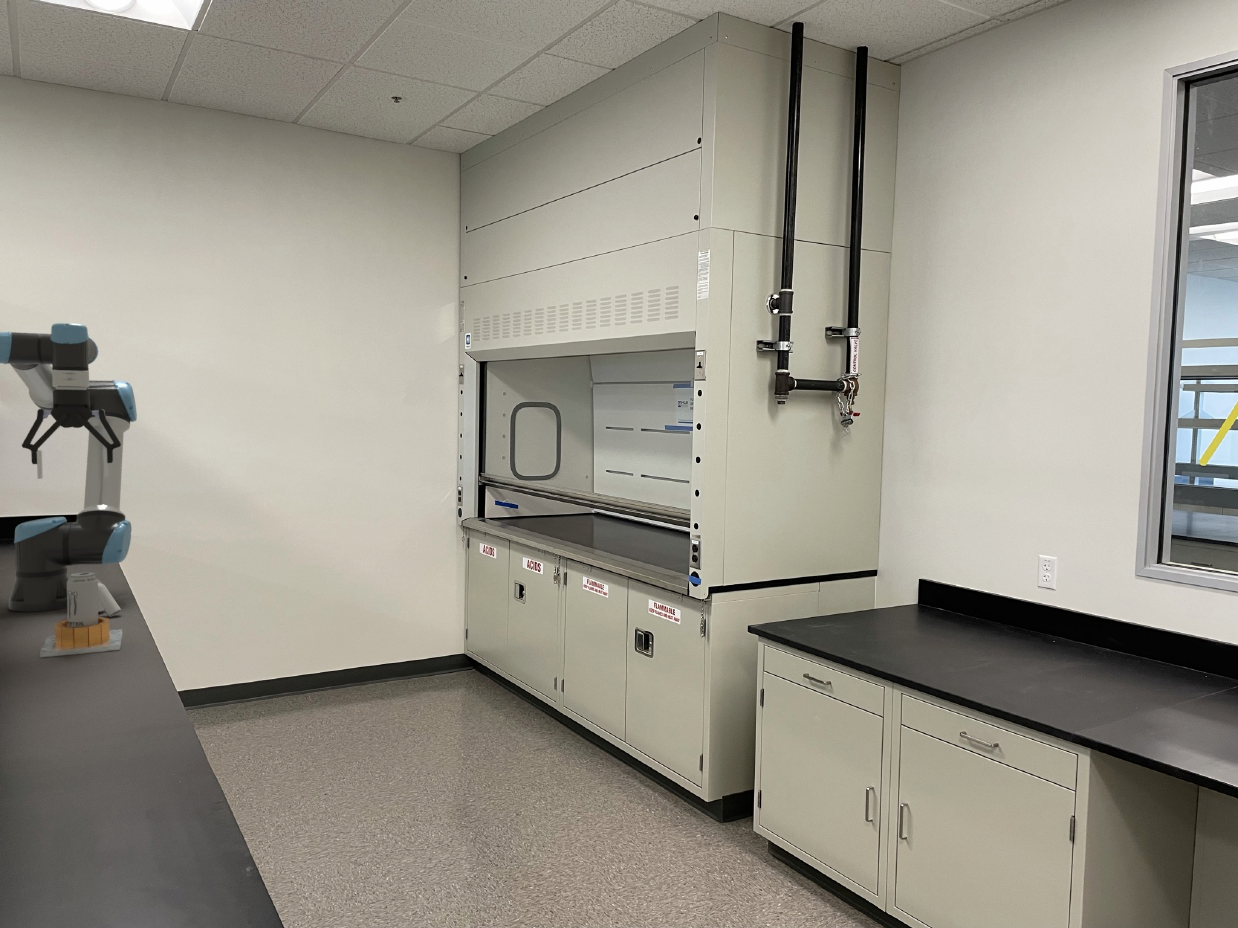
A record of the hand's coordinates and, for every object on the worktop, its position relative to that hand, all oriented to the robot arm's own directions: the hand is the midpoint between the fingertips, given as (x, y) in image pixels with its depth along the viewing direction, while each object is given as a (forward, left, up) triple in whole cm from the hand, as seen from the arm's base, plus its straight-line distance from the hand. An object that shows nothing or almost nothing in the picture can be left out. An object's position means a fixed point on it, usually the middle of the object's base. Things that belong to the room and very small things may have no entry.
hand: (73, 477), depth 218 cm
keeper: (+19, +2, -37) cm, 41 cm away
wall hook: (-12, +4, -37) cm, 39 cm away
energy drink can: (+19, +2, -36) cm, 40 cm away
